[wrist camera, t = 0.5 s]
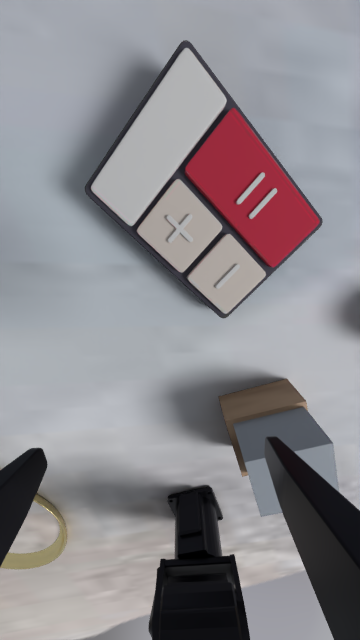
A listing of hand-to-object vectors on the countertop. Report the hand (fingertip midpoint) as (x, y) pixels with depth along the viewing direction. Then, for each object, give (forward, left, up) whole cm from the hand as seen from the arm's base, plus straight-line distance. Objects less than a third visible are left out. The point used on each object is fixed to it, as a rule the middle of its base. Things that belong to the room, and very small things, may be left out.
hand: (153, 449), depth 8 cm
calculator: (+9, -6, -14) cm, 18 cm away
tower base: (-14, -7, -14) cm, 21 cm away
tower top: (-14, -7, -10) cm, 18 cm away
